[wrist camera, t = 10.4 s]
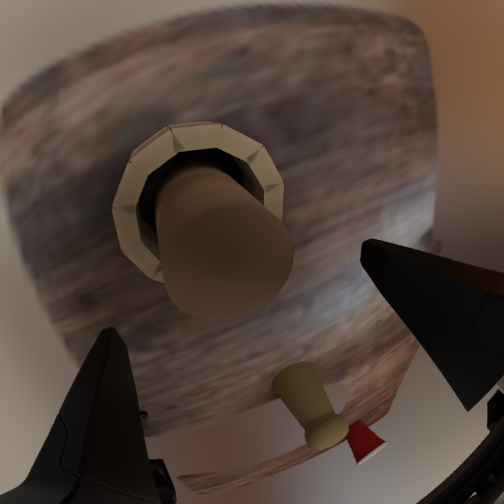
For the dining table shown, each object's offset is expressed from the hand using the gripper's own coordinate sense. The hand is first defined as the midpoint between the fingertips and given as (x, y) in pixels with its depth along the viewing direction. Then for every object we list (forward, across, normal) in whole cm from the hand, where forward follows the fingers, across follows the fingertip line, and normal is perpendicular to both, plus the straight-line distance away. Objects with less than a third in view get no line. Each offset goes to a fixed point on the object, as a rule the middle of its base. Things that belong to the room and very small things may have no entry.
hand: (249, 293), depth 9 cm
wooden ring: (+11, 0, 0) cm, 11 cm away
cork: (+11, -6, +26) cm, 29 cm away
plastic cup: (+11, -25, +74) cm, 79 cm away
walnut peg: (+11, 0, 0) cm, 11 cm away
